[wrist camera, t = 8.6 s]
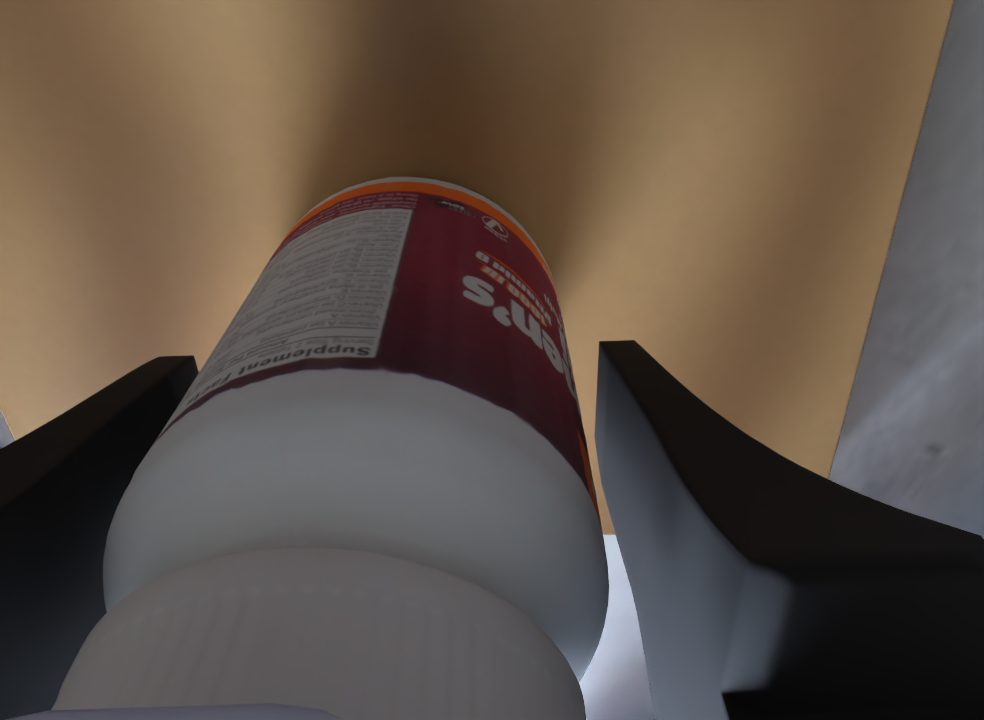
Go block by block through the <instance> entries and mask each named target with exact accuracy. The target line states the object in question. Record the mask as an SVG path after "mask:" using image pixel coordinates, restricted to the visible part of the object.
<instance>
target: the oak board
mask: <svg viewBox="0 0 984 720" xmlns="http://www.w3.org/2000/svg"><path fill="white" fill-rule="evenodd" d="M954 2H955V0H0V410H1V412H2V415H3V417H4V419H5V421H6V423H7V425H8V428H9V430H10V432H11V434H12V436H13V439H14V441H16V440H18V439H19V438H21V437H23V436H25V435H26V434H28V433H30V432H32V431H33V430H35V429H37V428H39V427H40V426H42V425H44V424H46V423H47V422H49V421H51V420H53V419H54V418H56V417H58V416H59V415H61V414H63V413H64V412H66V411H68V410H69V409H71V408H72V407H74V406H76V405H77V404H79V403H81V402H82V401H84V400H85V399H87V398H89V397H90V396H92V395H93V394H95V393H97V392H98V391H100V390H102V389H103V388H105V387H106V386H108V385H110V384H111V383H113V382H114V381H116V380H118V379H119V378H121V377H122V376H124V375H126V374H127V373H129V372H131V371H132V370H134V369H136V368H138V367H139V366H141V365H143V364H145V363H147V362H149V361H151V360H153V359H155V358H157V357H159V356H188V355H194V357H195V361H196V365H197V368H198V372H200V370H201V369H202V367H203V366H204V364H205V362H206V361H207V359H208V358H209V356H210V355H211V353H212V351H213V350H214V348H215V347H216V345H217V344H218V342H219V340H220V339H221V337H222V336H223V334H224V333H225V331H226V329H227V328H228V326H229V325H230V323H231V321H232V320H233V318H234V316H235V315H236V313H237V312H238V310H239V308H240V307H241V305H242V304H243V302H244V300H245V299H246V297H247V296H248V294H249V292H250V291H251V289H252V288H253V286H254V284H255V283H256V281H257V279H258V278H259V276H260V274H261V273H262V271H263V269H264V268H265V267H266V265H267V263H268V262H269V260H270V258H271V257H272V255H273V254H274V252H275V251H276V250H277V248H278V247H279V245H280V244H281V242H282V241H283V239H284V238H285V237H286V236H287V234H288V233H289V232H290V230H291V229H292V228H293V227H294V226H295V224H296V223H297V222H298V221H299V220H300V219H301V218H302V217H303V216H304V215H305V214H307V213H308V212H309V211H310V210H311V209H312V208H313V207H315V206H316V205H317V204H319V203H320V202H322V201H323V200H325V199H327V198H328V197H330V196H331V195H333V194H335V193H337V192H339V191H342V190H344V189H346V188H348V187H351V186H354V185H357V184H361V183H364V182H367V181H371V180H376V179H383V178H388V177H418V178H428V179H435V180H440V181H444V182H449V183H452V184H455V185H459V186H462V187H464V188H467V189H469V190H471V191H473V192H476V193H478V194H480V195H482V196H484V197H486V198H487V199H489V200H491V201H492V202H494V203H496V204H497V205H499V206H500V207H501V208H502V209H504V210H505V211H506V212H507V213H509V214H510V215H511V216H512V217H513V218H514V219H515V220H516V221H518V222H519V223H520V224H521V225H522V226H523V228H524V229H525V230H526V231H527V233H528V234H529V235H530V236H531V238H532V239H533V240H534V242H535V243H536V245H537V247H538V248H539V250H540V251H541V253H542V255H543V257H544V259H545V261H546V263H547V265H548V267H549V269H550V272H551V274H552V277H553V280H554V283H555V287H556V292H557V296H558V300H559V303H560V309H561V313H562V318H563V324H564V329H565V335H566V339H567V346H568V349H569V354H570V359H571V364H572V370H573V376H574V381H575V386H576V391H577V396H578V400H579V405H580V411H581V417H582V424H583V429H584V433H585V437H586V442H587V448H588V454H589V460H590V466H591V471H592V477H593V482H594V487H595V491H596V497H597V503H598V508H599V514H600V520H601V526H602V532H603V535H616V534H615V531H614V527H613V524H612V520H611V517H610V513H609V510H608V506H607V503H606V499H605V496H604V492H603V488H602V485H601V478H600V472H599V466H598V459H597V452H596V445H595V437H594V434H595V414H596V393H597V373H598V353H599V341H622V340H635V341H636V342H637V343H638V344H639V345H640V346H641V347H643V348H644V349H645V350H646V351H647V352H648V353H649V354H650V355H651V356H652V357H653V358H654V359H655V360H656V361H657V362H658V363H659V364H660V365H662V366H663V367H664V368H665V369H666V370H667V371H668V372H669V373H670V374H671V375H672V376H673V377H675V378H676V379H677V380H678V381H679V382H680V383H681V384H682V385H684V386H685V387H686V388H687V389H688V390H689V391H691V392H692V393H693V394H694V395H695V396H697V397H698V398H699V399H700V400H701V401H703V402H704V403H705V404H706V405H708V406H709V407H710V408H711V409H713V410H714V411H716V412H717V413H718V414H720V415H721V416H722V417H724V418H725V419H726V420H728V421H729V422H730V423H732V424H733V425H734V426H736V427H737V428H739V429H740V430H742V431H743V432H745V433H746V434H748V435H749V436H751V437H752V438H754V439H756V440H757V441H759V442H760V443H762V444H764V445H765V446H767V447H769V448H770V449H772V450H773V451H775V452H777V453H778V454H780V455H782V456H784V457H785V458H787V459H789V460H791V461H793V462H795V463H796V464H798V465H800V466H802V467H804V468H806V469H808V470H810V471H812V472H814V473H816V474H818V475H820V476H822V477H824V478H826V479H829V475H830V471H831V468H832V464H833V460H834V456H835V453H836V449H837V445H838V441H839V437H840V434H841V430H842V426H843V422H844V418H845V415H846V411H847V407H848V403H849V400H850V396H851V392H852V388H853V384H854V381H855V377H856V373H857V369H858V366H859V362H860V358H861V354H862V350H863V347H864V343H865V339H866V335H867V331H868V328H869V324H870V320H871V316H872V313H873V309H874V305H875V301H876V297H877V294H878V290H879V286H880V282H881V278H882V275H883V271H884V267H885V263H886V260H887V256H888V252H889V248H890V244H891V241H892V237H893V233H894V229H895V226H896V222H897V218H898V214H899V210H900V207H901V203H902V199H903V195H904V191H905V188H906V184H907V180H908V176H909V173H910V169H911V165H912V161H913V157H914V154H915V150H916V146H917V142H918V138H919V135H920V131H921V127H922V123H923V120H924V116H925V112H926V108H927V104H928V101H929V97H930V93H931V89H932V85H933V82H934V78H935V74H936V70H937V67H938V63H939V59H940V55H941V51H942V48H943V44H944V40H945V36H946V33H947V29H948V25H949V21H950V17H951V14H952V10H953V6H954Z"/></svg>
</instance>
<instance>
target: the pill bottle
mask: <svg viewBox="0 0 984 720" xmlns="http://www.w3.org/2000/svg"><path fill="white" fill-rule="evenodd" d="M103 589H104V600H105V605H106V610H107V613H106V614H105V615H104V616H103V617H102V618H101V620H100V621H99V622H98V623H97V624H96V625H95V627H94V628H93V629H92V631H91V632H90V634H89V635H88V637H87V638H86V640H85V642H84V643H83V645H82V647H81V649H80V651H79V653H78V655H77V656H76V658H75V660H74V662H73V664H72V666H71V668H70V669H69V671H68V673H67V675H66V677H65V679H64V681H63V683H62V685H61V688H60V691H59V694H58V697H57V700H56V701H55V703H54V705H53V707H52V709H51V710H76V709H107V708H139V707H170V706H202V705H233V704H265V703H276V704H284V705H292V706H300V707H307V708H315V709H322V710H324V711H326V712H328V713H330V714H332V715H334V716H336V717H338V718H340V719H342V720H586V713H585V705H584V700H583V695H582V691H581V688H580V685H579V682H580V680H581V678H582V677H583V675H584V673H585V671H586V670H587V668H588V666H589V664H590V662H591V660H592V658H593V656H594V654H595V651H596V649H597V647H598V644H599V641H600V638H601V635H602V631H603V628H604V624H605V618H606V612H607V607H608V595H609V580H608V566H607V559H606V552H605V545H604V539H603V532H602V526H601V520H600V514H599V508H598V503H597V497H596V491H595V487H594V482H593V477H592V471H591V466H590V460H589V454H588V448H587V442H586V437H585V433H584V429H583V424H582V417H581V411H580V405H579V400H578V396H577V391H576V386H575V381H574V376H573V370H572V364H571V359H570V354H569V349H568V346H567V339H566V335H565V329H564V324H563V318H562V313H561V309H560V303H559V300H558V296H557V292H556V287H555V283H554V280H553V277H552V274H551V272H550V269H549V267H548V265H547V263H546V261H545V259H544V257H543V255H542V253H541V251H540V250H539V248H538V247H537V245H536V243H535V242H534V240H533V239H532V238H531V236H530V235H529V234H528V233H527V231H526V230H525V229H524V228H523V226H522V225H521V224H520V223H519V222H518V221H516V220H515V219H514V218H513V217H512V216H511V215H510V214H509V213H507V212H506V211H505V210H504V209H502V208H501V207H500V206H499V205H497V204H496V203H494V202H492V201H491V200H489V199H487V198H486V197H484V196H482V195H480V194H478V193H476V192H473V191H471V190H469V189H467V188H464V187H462V186H459V185H455V184H452V183H449V182H444V181H440V180H435V179H428V178H418V177H388V178H383V179H376V180H371V181H367V182H364V183H361V184H357V185H354V186H351V187H348V188H346V189H344V190H342V191H339V192H337V193H335V194H333V195H331V196H330V197H328V198H327V199H325V200H323V201H322V202H320V203H319V204H317V205H316V206H315V207H313V208H312V209H311V210H310V211H309V212H308V213H307V214H305V215H304V216H303V217H302V218H301V219H300V220H299V221H298V222H297V223H296V224H295V226H294V227H293V228H292V229H291V230H290V232H289V233H288V234H287V236H286V237H285V238H284V239H283V241H282V242H281V244H280V245H279V247H278V248H277V250H276V251H275V252H274V254H273V255H272V257H271V258H270V260H269V262H268V263H267V265H266V267H265V268H264V269H263V271H262V273H261V274H260V276H259V278H258V279H257V281H256V283H255V284H254V286H253V288H252V289H251V291H250V292H249V294H248V296H247V297H246V299H245V300H244V302H243V304H242V305H241V307H240V308H239V310H238V312H237V313H236V315H235V316H234V318H233V320H232V321H231V323H230V325H229V326H228V328H227V329H226V331H225V333H224V334H223V336H222V337H221V339H220V340H219V342H218V344H217V345H216V347H215V348H214V350H213V351H212V353H211V355H210V356H209V358H208V359H207V361H206V362H205V364H204V366H203V367H202V369H201V370H200V372H199V374H198V375H197V377H196V378H195V380H194V381H193V383H192V385H191V386H190V388H189V389H188V391H187V393H186V394H185V396H184V397H183V399H182V400H181V402H180V404H179V405H178V407H177V408H176V410H175V411H174V413H173V415H172V416H171V418H170V419H169V421H168V422H167V424H166V426H165V427H164V429H163V430H162V432H161V433H160V435H159V436H158V438H157V439H156V441H155V442H154V444H153V445H152V447H151V448H150V450H149V451H148V453H147V454H146V456H145V457H144V459H143V460H142V462H141V463H140V465H139V466H138V468H137V469H136V471H135V473H134V475H133V477H132V480H131V482H130V484H129V485H128V487H127V489H126V490H125V492H124V494H123V496H122V498H121V500H120V502H119V505H118V507H117V509H116V512H115V514H114V517H113V520H112V523H111V526H110V528H109V531H108V535H107V541H106V546H105V552H104V558H103Z"/></svg>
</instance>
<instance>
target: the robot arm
mask: <svg viewBox="0 0 984 720" xmlns="http://www.w3.org/2000/svg"><path fill="white" fill-rule="evenodd" d="M198 374H199V372H198V368H197V365H196V361H195V357H194V355H188V356H159V357H157V358H155V359H153V360H151V361H149V362H147V363H145V364H143V365H141V366H139V367H138V368H136V369H134V370H132V371H131V372H129V373H127V374H126V375H124V376H122V377H121V378H119V379H118V380H116V381H114V382H113V383H111V384H110V385H108V386H106V387H105V388H103V389H102V390H100V391H98V392H97V393H95V394H93V395H92V396H90V397H89V398H87V399H85V400H84V401H82V402H81V403H79V404H77V405H76V406H74V407H72V408H71V409H69V410H68V411H66V412H64V413H63V414H61V415H59V416H58V417H56V418H54V419H53V420H51V421H49V422H47V423H46V424H44V425H42V426H40V427H39V428H37V429H35V430H33V431H32V432H30V433H28V434H26V435H25V436H23V437H21V438H19V439H18V440H16V441H14V442H12V443H11V444H9V445H7V446H5V447H4V448H2V449H0V720H342V719H340V718H338V717H336V716H334V715H332V714H330V713H328V712H326V711H324V710H322V709H315V708H307V707H300V706H292V705H284V704H276V703H265V704H233V705H202V706H170V707H139V708H107V709H76V710H51V709H52V707H53V705H54V703H55V701H56V700H57V697H58V694H59V691H60V688H61V685H62V683H63V681H64V679H65V677H66V675H67V673H68V671H69V669H70V668H71V666H72V664H73V662H74V660H75V658H76V656H77V655H78V653H79V651H80V649H81V647H82V645H83V643H84V642H85V640H86V638H87V637H88V635H89V634H90V632H91V631H92V629H93V628H94V627H95V625H96V624H97V623H98V622H99V621H100V620H101V618H102V617H103V616H104V615H105V614H106V613H107V610H106V605H105V600H104V589H103V558H104V552H105V546H106V541H107V535H108V531H109V528H110V526H111V523H112V520H113V517H114V514H115V512H116V509H117V507H118V505H119V502H120V500H121V498H122V496H123V494H124V492H125V490H126V489H127V487H128V485H129V484H130V482H131V480H132V477H133V475H134V473H135V471H136V469H137V468H138V466H139V465H140V463H141V462H142V460H143V459H144V457H145V456H146V454H147V453H148V451H149V450H150V448H151V447H152V445H153V444H154V442H155V441H156V439H157V438H158V436H159V435H160V433H161V432H162V430H163V429H164V427H165V426H166V424H167V422H168V421H169V419H170V418H171V416H172V415H173V413H174V411H175V410H176V408H177V407H178V405H179V404H180V402H181V400H182V399H183V397H184V396H185V394H186V393H187V391H188V389H189V388H190V386H191V385H192V383H193V381H194V380H195V378H196V377H197V375H198ZM594 437H595V445H596V452H597V459H598V466H599V472H600V478H601V485H602V488H603V492H604V496H605V499H606V503H607V506H608V510H609V513H610V517H611V520H612V524H613V527H614V531H615V534H616V537H617V541H618V544H619V548H620V551H621V555H622V558H623V562H624V565H625V568H626V572H627V575H628V579H629V582H630V586H631V589H632V593H633V598H634V602H635V606H636V610H637V615H638V621H639V626H640V632H641V638H642V643H643V649H644V655H645V661H646V666H647V673H648V679H649V685H650V691H651V697H652V703H653V709H654V716H655V720H984V539H983V538H982V537H981V536H980V535H977V534H974V533H971V532H968V531H965V530H961V529H958V528H955V527H952V526H949V525H946V524H943V523H939V522H936V521H933V520H930V519H927V518H924V517H921V516H918V515H914V514H911V513H908V512H905V511H903V510H900V509H897V508H895V507H892V506H890V505H887V504H885V503H882V502H880V501H877V500H874V499H872V498H869V497H867V496H864V495H862V494H859V493H857V492H855V491H853V490H850V489H848V488H846V487H843V486H841V485H839V484H837V483H835V482H832V481H830V480H828V479H826V478H824V477H822V476H820V475H818V474H816V473H814V472H812V471H810V470H808V469H806V468H804V467H802V466H800V465H798V464H796V463H795V462H793V461H791V460H789V459H787V458H785V457H784V456H782V455H780V454H778V453H777V452H775V451H773V450H772V449H770V448H769V447H767V446H765V445H764V444H762V443H760V442H759V441H757V440H756V439H754V438H752V437H751V436H749V435H748V434H746V433H745V432H743V431H742V430H740V429H739V428H737V427H736V426H734V425H733V424H732V423H730V422H729V421H728V420H726V419H725V418H724V417H722V416H721V415H720V414H718V413H717V412H716V411H714V410H713V409H711V408H710V407H709V406H708V405H706V404H705V403H704V402H703V401H701V400H700V399H699V398H698V397H697V396H695V395H694V394H693V393H692V392H691V391H689V390H688V389H687V388H686V387H685V386H684V385H682V384H681V383H680V382H679V381H678V380H677V379H676V378H675V377H673V376H672V375H671V374H670V373H669V372H668V371H667V370H666V369H665V368H664V367H663V366H662V365H660V364H659V363H658V362H657V361H656V360H655V359H654V358H653V357H652V356H651V355H650V354H649V353H648V352H647V351H646V350H645V349H644V348H643V347H641V346H640V345H639V344H638V343H637V342H636V341H635V340H622V341H599V353H598V373H597V393H596V414H595V434H594Z"/></svg>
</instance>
